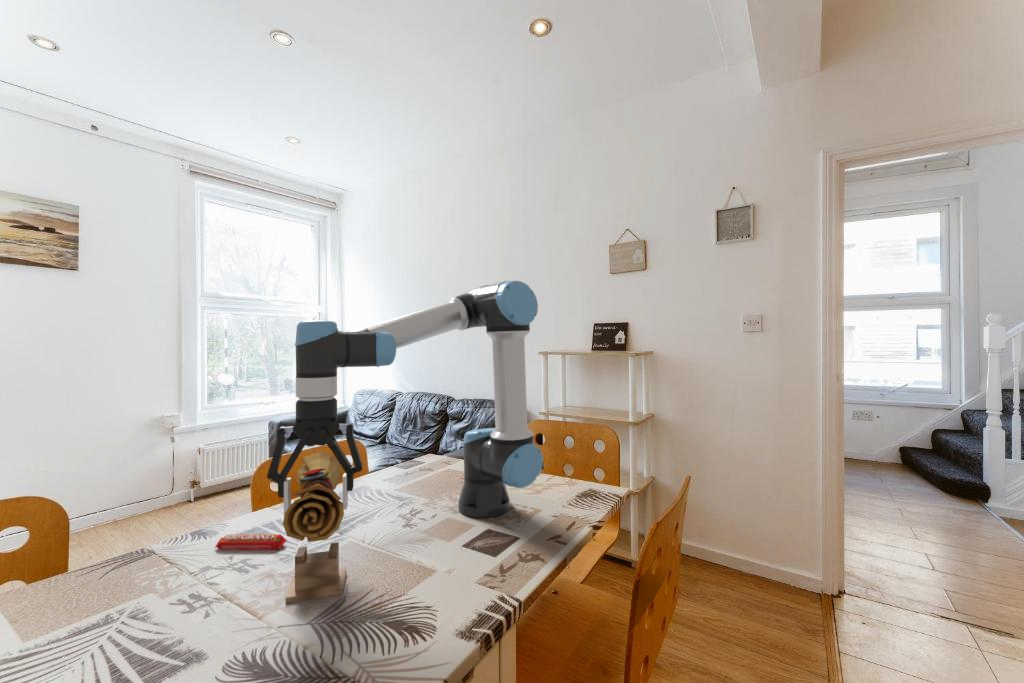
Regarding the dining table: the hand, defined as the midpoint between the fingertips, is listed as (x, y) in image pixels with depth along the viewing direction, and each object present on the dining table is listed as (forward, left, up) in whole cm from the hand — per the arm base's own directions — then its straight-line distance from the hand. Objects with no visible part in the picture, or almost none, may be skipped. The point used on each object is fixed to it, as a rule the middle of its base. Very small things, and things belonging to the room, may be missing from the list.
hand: (316, 509), depth 85 cm
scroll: (0, 0, -1) cm, 1 cm away
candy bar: (+17, -23, -16) cm, 33 cm away
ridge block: (0, 0, -15) cm, 15 cm away
